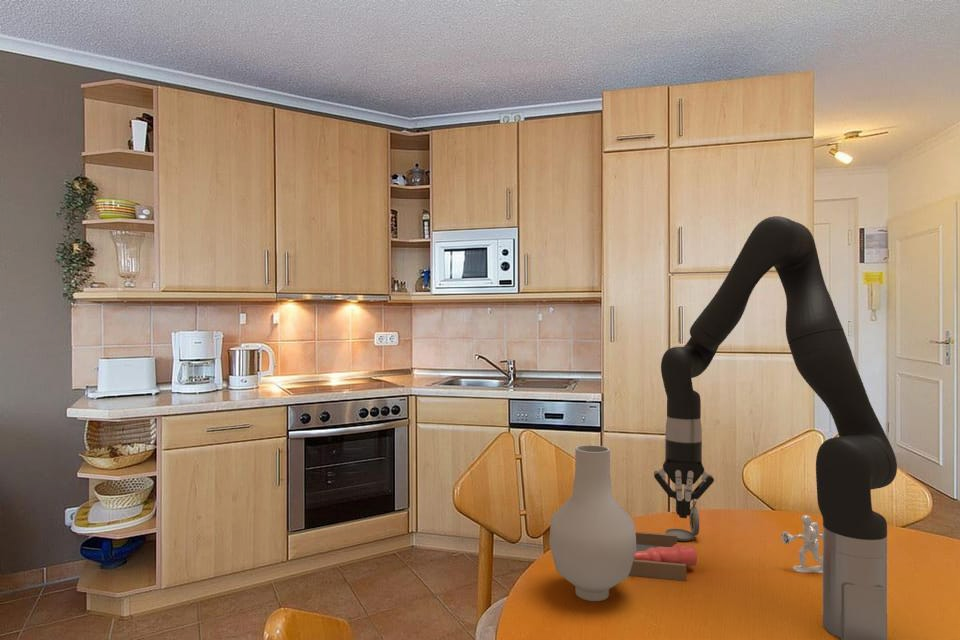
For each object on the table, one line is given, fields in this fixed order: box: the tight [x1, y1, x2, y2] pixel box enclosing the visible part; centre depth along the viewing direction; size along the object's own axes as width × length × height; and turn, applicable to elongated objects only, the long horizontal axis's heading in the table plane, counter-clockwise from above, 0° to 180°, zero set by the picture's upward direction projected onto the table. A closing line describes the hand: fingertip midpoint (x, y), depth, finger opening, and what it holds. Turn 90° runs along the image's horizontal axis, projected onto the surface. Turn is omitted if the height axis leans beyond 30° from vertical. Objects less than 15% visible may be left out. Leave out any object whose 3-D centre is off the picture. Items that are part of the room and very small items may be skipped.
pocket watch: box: [664, 499, 700, 542], centre depth 142 cm, size 8×8×10 cm
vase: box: [548, 444, 637, 602], centre depth 113 cm, size 17×16×28 cm
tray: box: [629, 531, 687, 582], centre depth 129 cm, size 18×18×3 cm
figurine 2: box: [634, 543, 698, 567], centre depth 124 cm, size 5×5×15 cm
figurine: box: [780, 514, 823, 575], centre depth 124 cm, size 5×9×12 cm, turn 99°
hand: (683, 516), depth 127 cm, fingers closed
